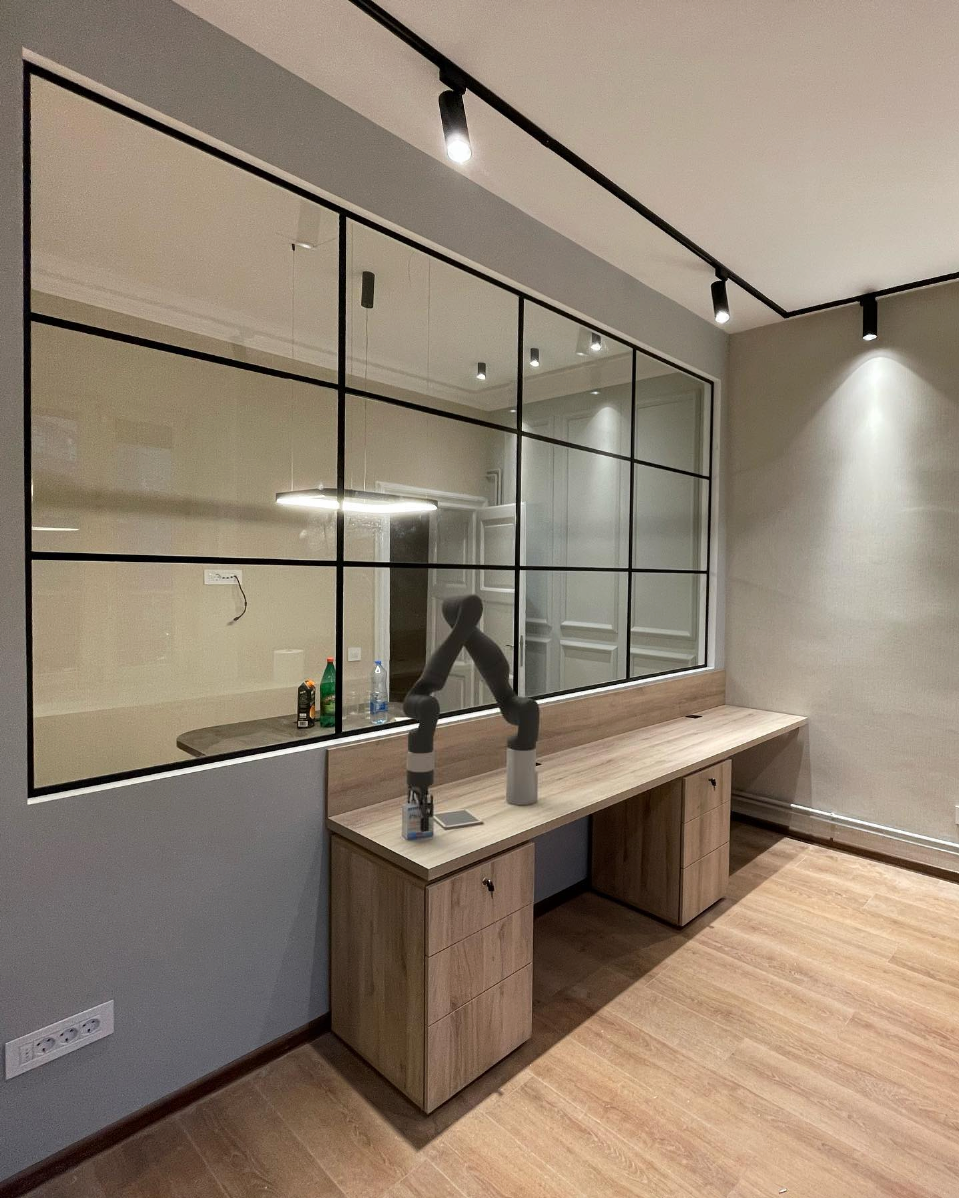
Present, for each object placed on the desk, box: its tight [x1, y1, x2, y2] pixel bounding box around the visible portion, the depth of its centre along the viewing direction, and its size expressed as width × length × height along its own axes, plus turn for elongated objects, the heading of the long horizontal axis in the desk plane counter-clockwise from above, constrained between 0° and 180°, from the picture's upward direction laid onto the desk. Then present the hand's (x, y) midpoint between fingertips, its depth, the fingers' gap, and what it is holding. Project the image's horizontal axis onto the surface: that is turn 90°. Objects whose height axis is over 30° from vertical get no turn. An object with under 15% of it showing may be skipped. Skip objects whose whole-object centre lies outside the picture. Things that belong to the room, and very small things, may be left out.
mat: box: [434, 808, 484, 831], centre depth 200 cm, size 12×12×1 cm
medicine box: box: [401, 803, 435, 841], centre depth 188 cm, size 8×4×9 cm, turn 115°
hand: (419, 826), depth 188 cm, fingers open, 7 cm apart
